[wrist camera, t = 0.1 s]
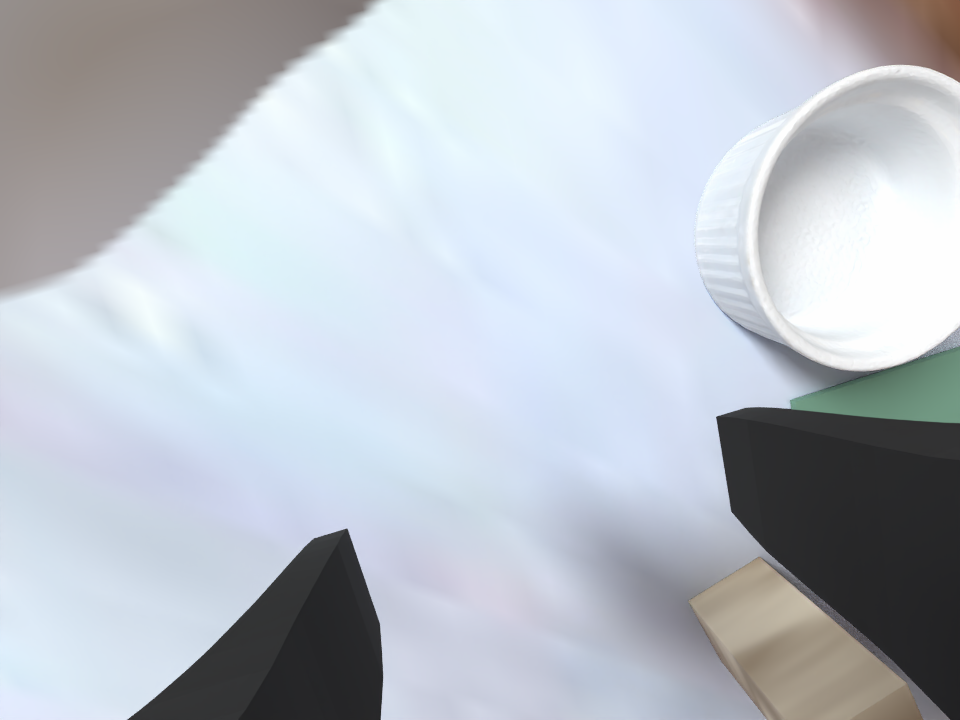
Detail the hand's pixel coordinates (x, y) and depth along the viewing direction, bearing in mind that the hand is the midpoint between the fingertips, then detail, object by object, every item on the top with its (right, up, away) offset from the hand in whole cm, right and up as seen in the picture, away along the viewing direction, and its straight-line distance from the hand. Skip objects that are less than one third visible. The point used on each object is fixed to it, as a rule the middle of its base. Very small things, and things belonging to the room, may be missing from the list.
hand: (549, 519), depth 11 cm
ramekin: (+10, +8, +11) cm, 17 cm away
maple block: (+10, -8, +14) cm, 18 cm away
